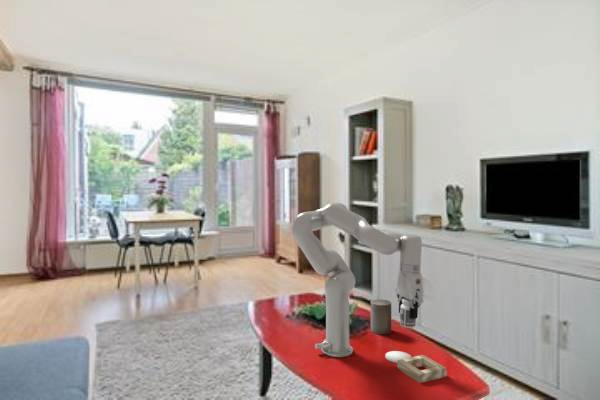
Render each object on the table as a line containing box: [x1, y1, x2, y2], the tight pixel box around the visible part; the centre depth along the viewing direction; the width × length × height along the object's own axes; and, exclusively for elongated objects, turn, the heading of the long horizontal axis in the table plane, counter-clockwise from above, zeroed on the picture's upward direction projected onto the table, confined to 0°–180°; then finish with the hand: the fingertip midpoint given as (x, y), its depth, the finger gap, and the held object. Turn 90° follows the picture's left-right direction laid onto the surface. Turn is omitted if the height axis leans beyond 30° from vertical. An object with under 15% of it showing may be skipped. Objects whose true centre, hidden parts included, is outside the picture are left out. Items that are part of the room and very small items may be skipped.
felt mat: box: [384, 350, 412, 364], centre depth 150 cm, size 10×10×1 cm
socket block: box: [396, 354, 447, 384], centre depth 138 cm, size 12×12×3 cm
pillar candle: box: [370, 298, 392, 335], centre depth 179 cm, size 10×10×15 cm
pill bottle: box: [399, 298, 417, 329], centre depth 144 cm, size 6×6×10 cm
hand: (407, 314), depth 144 cm, fingers closed on pill bottle, 5 cm apart
